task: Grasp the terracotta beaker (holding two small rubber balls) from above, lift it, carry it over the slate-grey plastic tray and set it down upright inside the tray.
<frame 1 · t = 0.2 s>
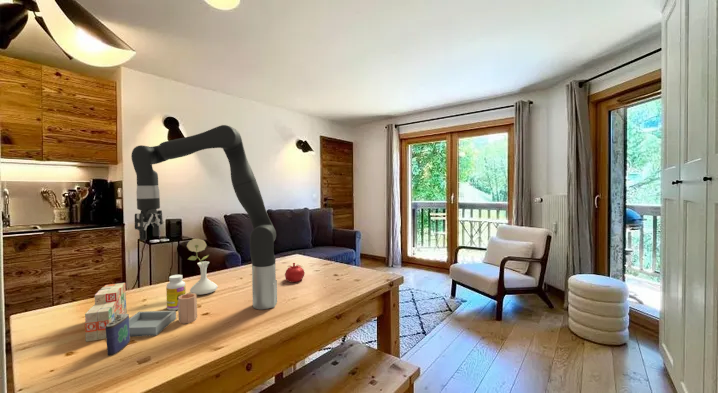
hand: (150, 237, 124), 29 cm above the table, fingers open, 8 cm apart
beaker: (188, 320, 116), on the table, touching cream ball
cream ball: (189, 313, 116), point 2 cm above the table, tilted 23°, touching beaker, mustard ball
supplement bottle: (176, 308, 127), on the table
mustard ball: (185, 307, 115), point 5 cm above the table, tilted 53°, touching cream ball
tray: (147, 327, 110), on the table
flask: (119, 348, 97), on the table
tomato: (294, 280, 162), on the table
flower in vase: (202, 292, 144), on the table
stack of blocks: (108, 326, 111), on the table
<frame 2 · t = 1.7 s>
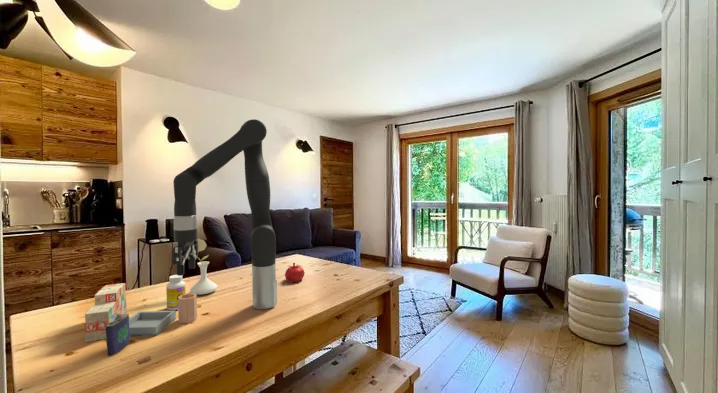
hand: (186, 271, 115), 18 cm above the table, fingers open, 8 cm apart
beaker: (188, 320, 116), on the table, touching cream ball, mustard ball
mustard ball: (185, 307, 115), point 5 cm above the table, tilted 63°, touching beaker, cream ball
everything else where it was.
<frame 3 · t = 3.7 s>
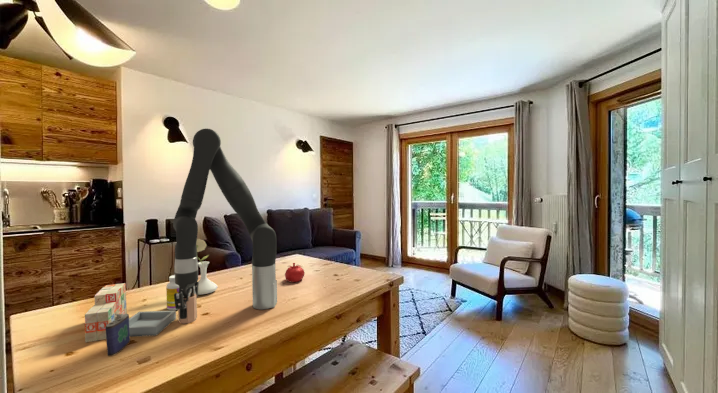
hand: (187, 314, 116), 2 cm above the table, fingers closed on beaker, 5 cm apart
beaker: (187, 320, 116), on the table, touching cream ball, gripper, mustard ball
everything else where it was.
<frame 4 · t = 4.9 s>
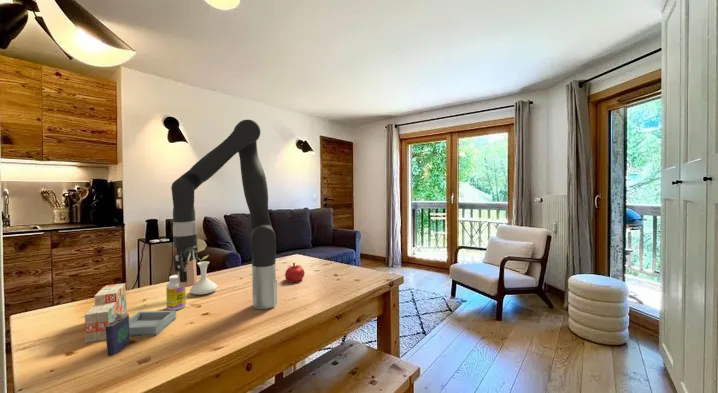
hand: (187, 278, 115), 15 cm above the table, fingers closed on beaker, 5 cm apart
beaker: (187, 284, 115), point 13 cm above the table, touching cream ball, gripper, mustard ball
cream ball: (189, 278, 115), point 16 cm above the table, tilted 26°, touching beaker, mustard ball
mustard ball: (184, 271, 114), point 18 cm above the table, tilted 64°, touching beaker, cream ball
everything else where it was.
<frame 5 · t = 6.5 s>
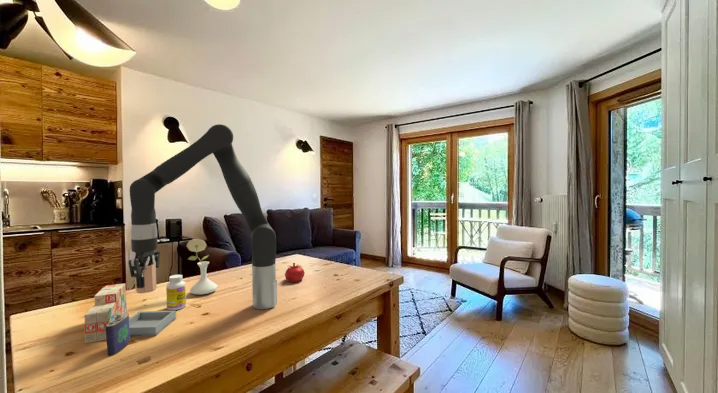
hand: (146, 284, 109), 15 cm above the table, fingers closed on beaker, 5 cm apart
beaker: (146, 290, 109), point 13 cm above the table, touching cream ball, gripper, mustard ball
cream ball: (148, 283, 110), point 15 cm above the table, tilted 27°, touching beaker, mustard ball
mustard ball: (143, 276, 109), point 18 cm above the table, tilted 63°, touching beaker, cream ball
everything else where it was.
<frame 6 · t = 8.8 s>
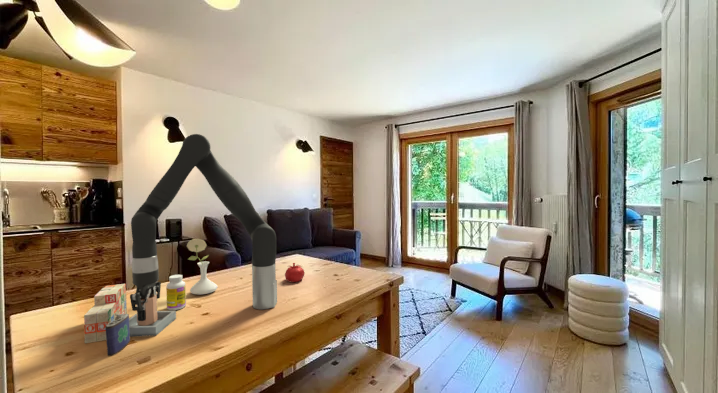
hand: (147, 316, 110), 4 cm above the table, fingers closed on beaker, 5 cm apart
beaker: (147, 322, 110), point 2 cm above the table, touching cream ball, gripper, mustard ball
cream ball: (149, 315, 110), point 4 cm above the table, tilted 27°, touching beaker, mustard ball
mustard ball: (144, 308, 109), point 7 cm above the table, tilted 63°, touching beaker, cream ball
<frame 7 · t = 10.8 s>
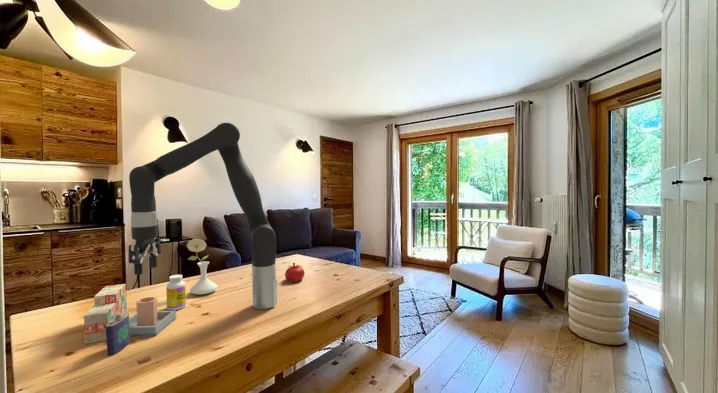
hand: (146, 270, 109), 20 cm above the table, fingers open, 8 cm apart
beaker: (147, 325, 110), point 1 cm above the table, touching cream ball, mustard ball, tray
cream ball: (149, 318, 110), point 3 cm above the table, tilted 31°, touching beaker, mustard ball
mustard ball: (144, 311, 109), point 6 cm above the table, tilted 65°, touching beaker, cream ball
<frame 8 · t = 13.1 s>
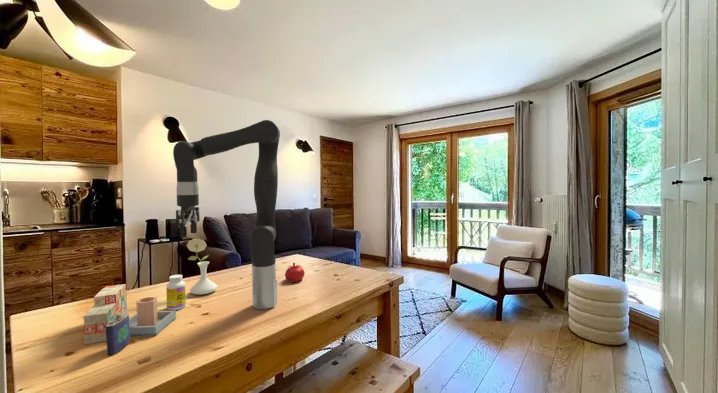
hand: (188, 234, 123), 30 cm above the table, fingers open, 8 cm apart
at the end: beaker inside the target area on the tray (0.1 cm from its centre), point 0.8 cm above the tray's base; beaker tilted 0°; the gripper is holding nothing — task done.
